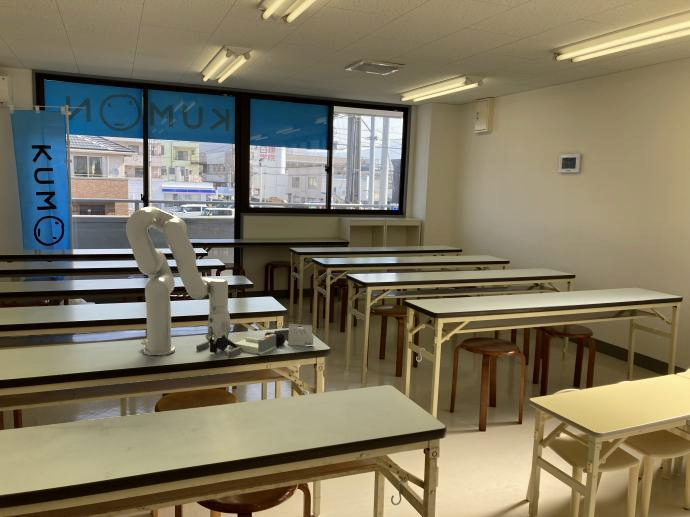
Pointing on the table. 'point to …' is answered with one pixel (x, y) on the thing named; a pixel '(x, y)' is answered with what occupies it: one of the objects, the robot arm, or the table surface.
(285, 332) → the phone
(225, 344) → the power plug
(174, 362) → the table surface
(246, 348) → the port dock
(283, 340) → the webcam
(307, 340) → the ink cartridge box
